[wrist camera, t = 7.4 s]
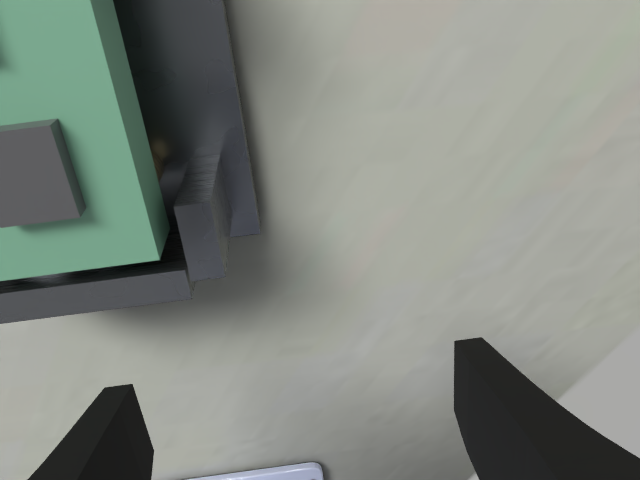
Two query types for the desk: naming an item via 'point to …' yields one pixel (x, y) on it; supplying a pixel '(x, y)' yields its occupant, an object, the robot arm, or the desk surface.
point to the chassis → (169, 165)
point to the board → (72, 144)
